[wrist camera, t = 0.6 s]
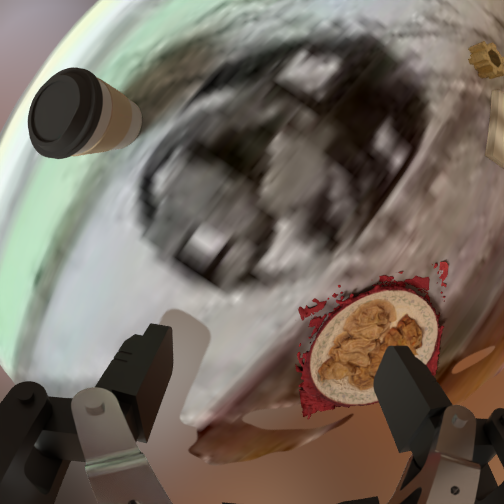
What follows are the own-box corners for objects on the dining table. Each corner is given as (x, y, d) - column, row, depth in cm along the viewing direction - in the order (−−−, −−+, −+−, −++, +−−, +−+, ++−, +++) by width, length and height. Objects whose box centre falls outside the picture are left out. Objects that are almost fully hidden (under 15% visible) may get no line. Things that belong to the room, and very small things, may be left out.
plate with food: (430, 374, 45) (438, 385, 41) (301, 411, 46) (304, 425, 43) (443, 257, 38) (455, 264, 35) (284, 293, 40) (286, 304, 36)
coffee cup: (80, 134, 33) (6, 130, 19) (117, 80, 31) (52, 49, 17) (122, 170, 35) (52, 179, 20) (164, 114, 32) (107, 88, 18)
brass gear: (468, 40, 26) (481, 34, 23) (491, 58, 27) (505, 53, 23) (467, 68, 28) (482, 63, 24) (491, 85, 28) (506, 82, 25)
